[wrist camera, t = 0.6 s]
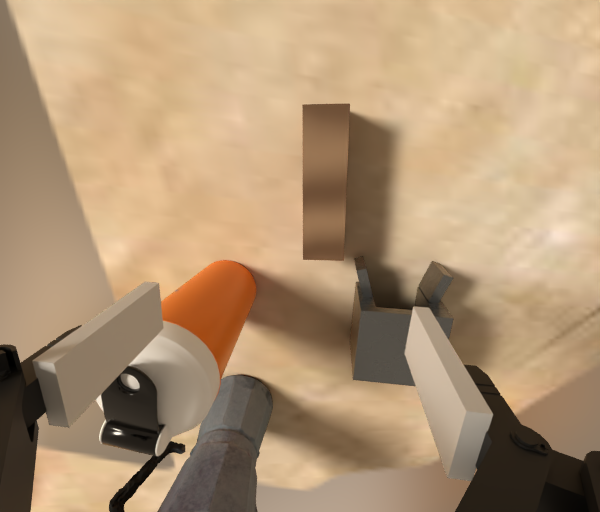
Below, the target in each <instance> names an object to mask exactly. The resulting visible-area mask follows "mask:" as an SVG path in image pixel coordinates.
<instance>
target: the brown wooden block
mask: <svg viewBox="0 0 600 512" xmlns="http://www.w3.org/2000/svg"><path fill="white" fill-rule="evenodd" d="M349 115H350V104H312V105H303V260H339V261H344V241H345V216H346V191H347V165H348V140H349Z"/></svg>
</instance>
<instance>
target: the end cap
mask: <svg viewBox="0 0 600 512" xmlns="http://www.w3.org/2000/svg"><path fill="white" fill-rule="evenodd" d="M354 260H355V265H356V270H357V274H358V279H359V282H356V287H355V297H354V306H353V315H352V325H351V334H350V350H351V362H352V374H353V380H360V381H370V382H380V383H389V384H399V385H409V386H416V385H415V383H414V380H413V377H412V374H411V371H410V368H409V365H408V362H407V359H406V356H405V354H404V353H405V348H406V343H407V337H408V332H409V327H410V321H411V316H412V311H413V310H406V309H394V308H382V307H376V306H375V303H374V299H373V295H372V291H371V286H370V282H369V278H368V273H367V269H366V265H365V262H364V258H363V256H361V257H357V258H354ZM452 280H453V277H452V276H451V275H450V274H449V273H448V272H447V271H446V270H445V269H444V267H443V266H442V265H441V264H438V263H436V262H433V261H432V262H431V264H430V266H429V268H428V269H427V271H426V273H425V275H424V277H423V279H422V280H421V282H420V284H419V287H418V289H417V295H416V301H415V307H426V308H430V310H431V312H432V313H433V315H434V317H435V318H436V320H437V322H438V323H439V325H440V327H441V328H442V330H443V332H444V333H445V335H446V337H447V338H448V340H449V336H450V332H451V327H452V323H453V317H452V316H451V314H450V313H449V311H448V310H447V309H446V307H445V306H444V304H443V303H442V302H441V298H442V296H443V295H444V293H445V291H446V290H447V288H448V286H449V285H450V283H451V281H452Z"/></svg>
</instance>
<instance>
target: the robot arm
mask: <svg viewBox="0 0 600 512" xmlns="http://www.w3.org/2000/svg"><path fill="white" fill-rule="evenodd" d="M162 329H163V319H162V309H161V299H160V289H159V283H155V282H144V283H142V284H141V285H139V286H138V287H137V288H135V289H134V290H132V291H131V292H129V293H128V294H127V295H125V296H124V297H122V298H121V299H120V300H118V301H117V302H115V303H114V304H112V305H111V306H110V307H108V308H107V309H105V310H104V311H102V312H101V313H100V314H98V315H97V316H95V317H94V318H92V319H91V320H90V321H88V322H87V323H85V324H84V325H80V326H78V327H76V328H73V329H71V330H69V331H67V332H65V333H64V334H62V335H61V336H59V337H58V338H56V340H53V341H52V342H50V343H49V344H48V345H47V346H45V347H43V348H42V349H40V350H39V351H37V352H36V353H34V354H33V355H31V356H30V357H29V358H27V359H26V360H24V361H23V362H21V363H20V360H19V357H18V354H17V350H16V347H15V346H13V345H0V512H30V510H31V500H32V490H33V480H34V470H35V460H36V450H37V440H38V430H39V428H38V424H37V421H36V420H37V419H39V418H40V417H41V416H42V415H43V414H44V413H45V412H46V414H47V418H48V422H49V425H53V426H61V427H68V428H69V427H70V426H71V425H72V424H73V423H74V422H75V421H76V420H77V419H78V418H79V417H80V416H81V414H83V413H84V411H85V410H86V409H87V408H88V407H89V406H90V405H91V404H92V403H93V402H94V401H95V400H96V399H97V398H98V397H99V396H100V395H101V394H102V393H103V392H104V391H105V389H106V388H107V387H108V386H109V385H110V384H111V383H112V382H113V381H114V380H115V379H116V378H117V377H118V376H119V375H120V374H121V373H122V372H123V371H124V369H125V368H126V367H127V366H128V365H129V364H130V363H131V362H132V361H133V360H134V359H135V358H136V357H137V356H138V355H139V354H140V353H141V352H142V351H143V349H144V348H145V347H146V346H147V345H148V344H149V343H150V342H151V341H152V340H153V339H154V338H155V337H156V336H157V335H158V334H159V333H160V332H161V331H162ZM404 354H405V356H406V359H407V362H408V365H409V368H410V371H411V374H412V377H413V380H414V383H415V385H416V388H417V391H418V394H419V397H420V400H421V403H422V406H423V409H424V411H425V414H426V417H427V420H428V423H429V426H430V429H431V432H432V435H433V437H434V440H435V443H436V446H437V449H438V452H439V455H440V458H441V461H442V464H443V466H444V469H445V472H446V475H447V478H453V479H460V480H467V481H471V483H470V485H469V487H468V488H467V490H466V492H465V494H464V496H463V498H462V500H461V502H460V504H459V506H458V507H457V509H456V511H455V512H600V451H591V452H589V453H588V454H586V456H585V459H584V461H582V460H579V459H576V458H573V457H571V456H568V455H565V454H562V453H559V452H557V451H554V450H552V449H551V447H550V445H549V443H548V442H547V441H546V440H545V439H544V438H543V437H542V436H541V435H540V434H538V433H537V432H535V431H533V430H532V429H530V428H528V427H526V426H523V425H521V424H520V422H519V420H518V419H517V417H516V416H515V415H514V413H513V412H512V410H511V409H510V407H509V406H508V404H507V403H506V401H505V400H504V398H503V397H502V396H501V395H500V393H499V391H498V390H497V388H496V387H495V385H494V384H493V382H492V381H491V379H490V378H489V376H488V375H487V374H486V373H484V372H483V371H482V370H481V369H479V368H478V367H477V366H471V365H463V363H462V362H461V360H460V358H459V357H458V355H457V353H456V352H455V350H454V348H453V347H452V345H451V343H450V342H449V340H448V338H447V337H446V335H445V333H444V332H443V330H442V328H441V327H440V325H439V323H438V322H437V320H436V318H435V317H434V315H433V313H432V312H431V310H430V308H426V307H415V306H413V311H412V316H411V321H410V327H409V332H408V337H407V343H406V348H405V353H404ZM476 468H477V472H476V474H475V475H474V473H475V469H476ZM473 476H474V477H473Z"/></svg>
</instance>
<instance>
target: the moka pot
mask: <svg viewBox="0 0 600 512" xmlns="http://www.w3.org/2000/svg"><path fill="white" fill-rule="evenodd" d="M272 408H273V405H272V397H271V394H270V392H269V390H268V389H267V388H266V387H265V386H264V385H263V384H262V383H261V382H259V381H258V380H256V379H254V378H251V377H248V376H242V375H232V376H227V377H225V378H223V379H221V385H220V389H219V393H218V395H217V397H216V398H215V400H214V402H213V404H212V406H211V408H210V410H209V412H208V414H207V416H206V417H205V419H204V420H203V421H202V423H201V426H200V430H199V435H198V439H197V443H196V445H195V447H194V448H193V449H192V451H191V453H190V457H189V458H188V459H187V460H186V462H185V463H184V465H183V467H182V469H181V471H180V473H179V474H178V476H177V478H176V480H175V482H174V483H173V485H172V487H171V489H170V491H169V492H168V494H167V496H166V498H165V499H164V501H163V503H162V505H161V506H160V508H159V510H158V512H257V507H256V486H257V475H256V469H255V466H256V461H257V458H258V456H259V454H260V453H259V449H260V446H261V443H262V440H263V437H264V434H265V431H266V428H267V425H268V422H269V419H270V416H271V412H272ZM172 452H176V453H178V454H182V453H184V452H185V445H183V444H181V443H180V444H178V443H174V442H172V441H170V442H169V443H168V445H167V447H166V449H165V450H164V452H163V453H162V454H161V455H160V456H152V458H151V459H150V460H149V461H147V462H146V463H145V465H144V466H143V467H142V468H141V469H140V471H138V472H137V473H136V474H135V475H133V477H132V478H131V479H130V480H129V481H128V483H126V484H125V486H124V487H123V488H121V489H119V491H118V492H117V493H116V494H115V495H114V497H113V498H112V499H111V500H110V504H109V511H110V512H124V504H125V502H126V501H127V500H128V499H129V498H131V497H132V496H133V494H134V493H135V492H136V490H137V489H138V487H139V486H140V485H142V483H143V482H144V481H145V480H146V478H147V477H149V475H150V474H151V473H152V472H153V470H154V469H155V467H156V466H157V464H158V463H160V462H161V461H162V459H163V458H165V456H167V455H168V454H169V453H172Z"/></svg>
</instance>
